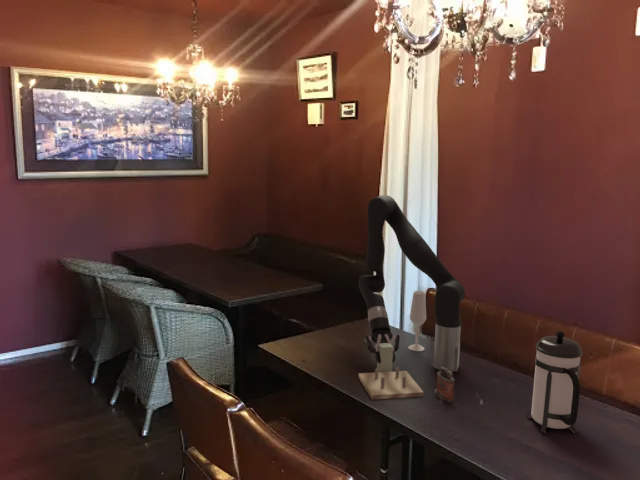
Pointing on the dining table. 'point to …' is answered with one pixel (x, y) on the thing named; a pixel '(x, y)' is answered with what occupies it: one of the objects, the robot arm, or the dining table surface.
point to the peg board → (390, 385)
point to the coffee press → (556, 382)
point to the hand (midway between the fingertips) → (386, 361)
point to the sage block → (385, 357)
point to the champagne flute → (418, 316)
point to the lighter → (445, 384)
